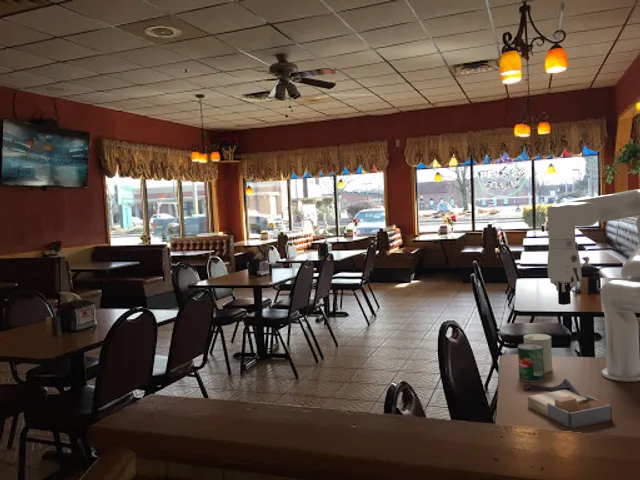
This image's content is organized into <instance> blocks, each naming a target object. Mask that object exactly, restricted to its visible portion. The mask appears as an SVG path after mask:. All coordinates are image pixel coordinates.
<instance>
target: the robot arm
mask: <svg viewBox="0 0 640 480" xmlns="http://www.w3.org/2000/svg"><path fill="white" fill-rule="evenodd" d="M636 216H637V217H636ZM633 217H636V221H635V222H636V230H637V235H638V244H637V246H636V248H635V249H634V250H633V252H632V253H631V254H630V255H629V257H628V258H627V260H626V261H625V263H624V265H623V266H622V268H621V272H620V275H621V278H622V279H611V280H608V281H606V282H605V283H604V284H603V285H602V286H601V288H600V295H599V296H600V299H601V304H602V308H603V314H604V325H605V326H604V328H605V329H604V330H605V351H606V352H605V353H606V355H605V356H606V357H605V358H606V367H605V368H603V369H602V370H601V375H602V376H603V377H605V378H606V379H609V380H612V381H616V382H617V381H618V382H627V383H630V382H632V383H633V382H640V338H639V337H640V336H639V335H640V334H639V326H640V325H639V321H638V318H637V316H636V314H635V313H638V314H639V313H640V188H638V189H631V190H625V191H620V192H615V193H611V194H605V195H599V196H598V195H597V196H594V197H589V198H584V199H583V198H582V199H575V200H572V201H571V200H570V201H566V202H560V203H559V204H553V205H549V206H548V207H547V231H548V232H547V233H548V250H547V251H548V253H547V268H546V269H547V278H548V279H549V280H550V281H549V282H550V284H552V285H554V286H555V289H556V291H557V297H558V298H557V299H558V300H557V301H558V302H557V303H558V305H562V306H565V305H571V303H572V300H571V296H572V295H571V292H572V291H573V288H575V287H579V284H578V282H581V281H582V266H581V259H580V255H579V251H578V248H577V247H576V245H577V244H576V243H577V242H576V227H579V228H580V227H581V228H582V227H591V226H594V225H595V224H597V223H599V222H610V221H611V222H613V221H619V220H623V219H627V218H633ZM576 248H577V249H576Z"/></svg>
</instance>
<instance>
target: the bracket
mask: <svg viewBox="0 0 640 480" xmlns="http://www.w3.org/2000/svg"><path fill="white" fill-rule="evenodd" d="M562 380H563V381H562V382H561V383H560V384H557V385H554V386H547V385H546V386H545V385H538V384H533V383H531V382H526V383H525V384H524V386H523V389H524V391H525V392H526V391H528V392H529V391H530V392H531V391H546V392H547V391H549V392H554V391H560V390H567V391H570V392H572V393H574V394H577V395H579V396H581V394H579V392H578V391H577V389H576V388H575V387H574V386H573V385H572V383H571V382H570V381H569V380H568V379H567V378H566V379H562ZM528 387H529V388H528Z"/></svg>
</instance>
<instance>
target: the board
mask: <svg viewBox="0 0 640 480" xmlns="http://www.w3.org/2000/svg"><path fill="white" fill-rule="evenodd" d="M567 396H571V397H573V398H576V400H577V410H579V408H578V406H580V405H582V404H584V403H587V397H584V396H581V395H580V396H579V395H577V394H574V393H572V392H570V391H569V390H560V391H549V392H545V393H537V394H534V395H528V396H527V407H528V408H530V409H532V410H534V411H536V412H538V413H540V414H542V415H544V416H546V417H547V418H548V406H547V403H550V404H553V405H555V399H557V398H562V397H567Z"/></svg>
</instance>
